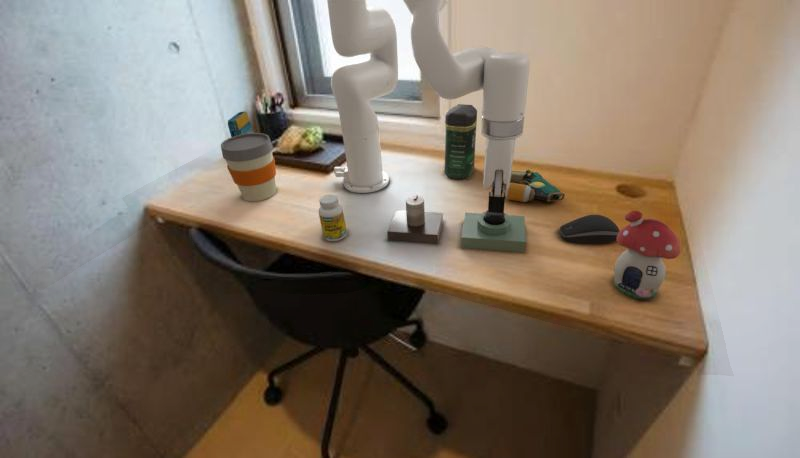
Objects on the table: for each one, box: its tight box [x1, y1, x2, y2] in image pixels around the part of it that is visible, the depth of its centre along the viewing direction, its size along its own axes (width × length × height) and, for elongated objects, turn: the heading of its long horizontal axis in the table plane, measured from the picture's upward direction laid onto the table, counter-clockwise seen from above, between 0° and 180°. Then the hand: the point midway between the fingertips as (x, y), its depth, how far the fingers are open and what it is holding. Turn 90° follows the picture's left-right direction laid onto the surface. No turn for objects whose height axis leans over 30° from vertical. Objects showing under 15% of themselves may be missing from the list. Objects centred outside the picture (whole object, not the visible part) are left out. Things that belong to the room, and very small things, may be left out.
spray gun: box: [505, 168, 565, 203], centre depth 105 cm, size 4×17×15 cm
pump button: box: [484, 209, 505, 225], centre depth 87 cm, size 4×4×2 cm
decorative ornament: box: [613, 210, 681, 301], centre depth 70 cm, size 9×6×15 cm
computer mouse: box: [558, 214, 621, 245], centre depth 87 cm, size 7×12×4 cm, turn 88°
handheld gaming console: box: [227, 111, 255, 138], centre depth 127 cm, size 10×4×15 cm, turn 174°
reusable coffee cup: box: [220, 132, 277, 202], centre depth 109 cm, size 13×13×15 cm
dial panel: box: [386, 209, 444, 245], centre depth 93 cm, size 11×9×2 cm
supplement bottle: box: [318, 193, 348, 242], centre depth 91 cm, size 5×5×10 cm
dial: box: [405, 194, 426, 226], centre depth 90 cm, size 4×4×6 cm
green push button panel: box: [460, 211, 527, 253], centre depth 89 cm, size 13×10×4 cm
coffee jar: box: [444, 103, 478, 180], centre depth 112 cm, size 10×8×19 cm
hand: (495, 210), depth 86 cm, fingers closed
